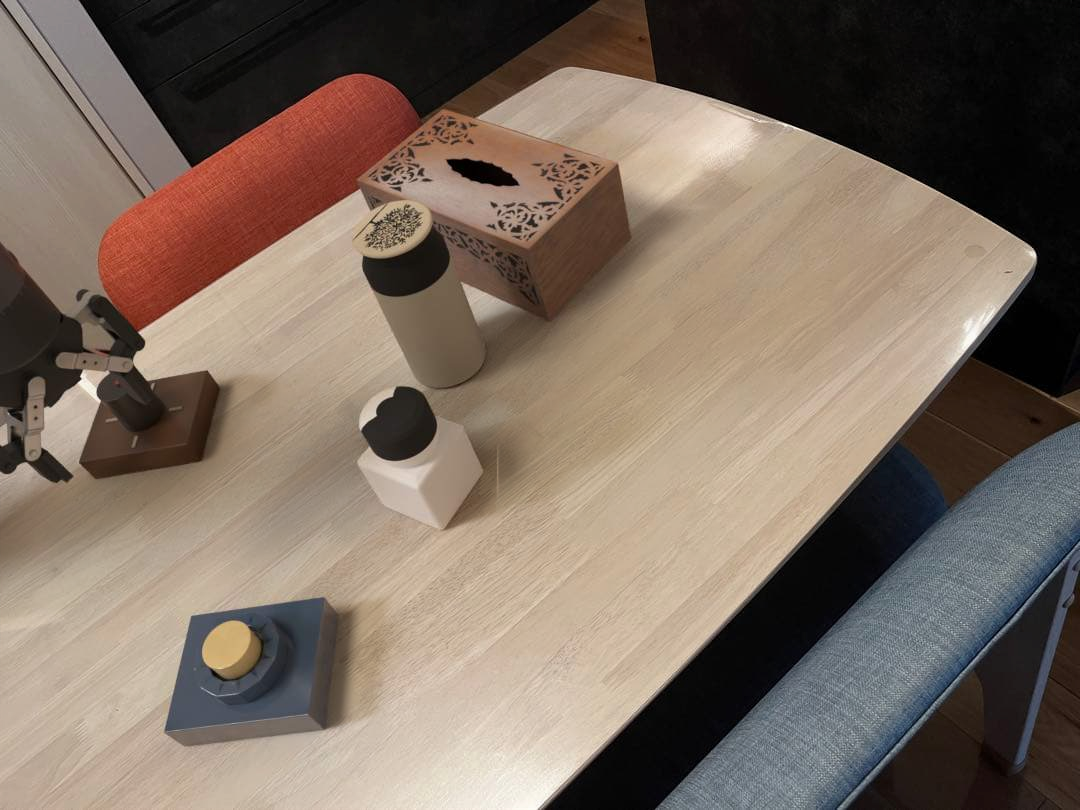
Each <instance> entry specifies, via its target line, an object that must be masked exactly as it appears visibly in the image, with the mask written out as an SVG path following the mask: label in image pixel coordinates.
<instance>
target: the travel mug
mask: <svg viewBox="0 0 1080 810" xmlns="http://www.w3.org/2000/svg"><path fill="white" fill-rule="evenodd" d="M432 224H433V217H432V214H431V211H430V210H429V209H428V208H427V207H426V206H425V205H423V204H422V203H419V202H416V201H410V200H401V201H394V202H390V203H387V204H384V205H381V206H379V207H377V208H375V209H373V210H372V211H370V210H369V212H368V213H366V214H365V215H364V216H363V217H362V218H361V219H360V220H359V221H358V222H357V224H356V225H355V227H354V228H353V230H352V235H351V242H352V245H353V248H354V249H355V251H356V252H357V253H359V254H360V255H362V261H361V269H362V273H363V274H364V276H365V278H366V281H367V282H368V284H369V287H370V289H371V290H372V293H373V295H374V297H375V299H376V301H377V303H378V305H379V307H380V309H381V311H382V314H383V315H384V317H385V320H386V322H387V324H388V326H389V327H390V329H391V331H392V333H393V336H394V337H395V340H396V342H397V344H398V346H399V348H400V350H401V352H402V354H403V356H404V358H405V360H406V363H407V365H408V367H409V368H410V370H411V372H412V374H413V377H414V378H415V380H416V381H418V382H419V383H420V384H422V385H424V386H425V387H430V388H435V389H444V388H450V387H454V386H456V385H459V384H463V382H466V381H467V380H469V379H470V378H471V377H473V376H474V375H475V374H476V373H477V372H478V371H479V370H480V368H481V367H482V365H483V363H484V362H485V359H486V355H487V353H486V352H487V348H486V344H485V341H484V339H483V336H482V333H481V331H480V329H479V326H478V323H477V320H476V317H475V315H474V313H473V310H472V307H471V305H470V302H469V300H468V297H467V295H466V292H465V290H464V287H463V284H462V282H461V281H460V279H459V276H458V274H457V271H456V268H455V266H454V263H453V261H452V258H451V255H450V253H449V250H448V248H447V245H446V242H445V240H444V238H443V236H442V234H441V233H440V232H439V231H437V230H436V229H434V228H433V227H432Z"/></svg>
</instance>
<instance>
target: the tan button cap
mask: <svg viewBox="0 0 1080 810" xmlns="http://www.w3.org/2000/svg"><path fill="white" fill-rule="evenodd" d="M261 652H262V644H261V640H260V639H259V637H258V636H257V635H256V634H255V633H254V632H253V631H252V630H251V629H250V628H249V627H248V626H247V625H246V624H244V623H243V622H240V621H228V622H225V623H222V624H220V625H219V626H217V627H216V628H215V629H214V630H212V631H211V633H210V634H209V635H208V636H207V638H206V640H205V642H204V644H203V648H202V657H203V660H204V662H205V663H206V664H207V665H208V666H209V667H210V668H211V669H212V670H213V671H215V672H216V673H217V674H218V675H219V676H221V677H223V678H225V679H236V678H240V677H242V676H244V675H246V674H247V673H248V672H250V671H251V670H252V669H253V668H254V667H255V665H256V664H257V662H258V661H259V659H260V656H261Z"/></svg>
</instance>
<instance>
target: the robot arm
mask: <svg viewBox="0 0 1080 810" xmlns="http://www.w3.org/2000/svg"><path fill="white" fill-rule="evenodd" d="M75 300H76V302H77V303H75V304H74V305H73V306H72V308H71V309H69V310H68V312H67V313H66V314H65V313H62V311H61V310H60V309H59V308H58V307H57V305H56V304H55V303H54V302H53V301H52V300H51V299H50V297H49V296H48V295H47V294H46V293H45V292H44V290H42V288H41V287H40V285H38V283H37V282H36V281H35V280H34V279H33V277H32V276H30V274H29V273H28V272H27V271H26V269H25V268H24V267H23V266H22V265H21V264H20V262H19V260H18V258H17V257H16V255H15V254H14V253H13V252H12V251H11V250H9V249H8V248H7V247H6V245H4V243H2V242H1V241H0V408H2V416H3V420H4V422H5V424H6V432H7V433H6V434H7V443H6V444H4V445H1V444H0V473H1V474H3V475H11V474H13V473H14V472H15V471H16V470H17V467H18V466H19V465H22V464H27V465H28V466H30V467H31V468H32V469H33V470H34V471H35V472H36V473H38V474H39V476H41V477H42V478H44V479H46V480H47V481H49V482H51V483H54V484H58V483H60V481H63V482H64V483H66V484H68V483H69V482H70V481H71V480H72V479H73V478H74V477H75V475H73V473H71V472H70V471H69V470H68V468H66V467H65V466H64V465H63V464H62V463H61V462H60V461H59V460H58V459H57V458H56V457H55V456H53V455H52V454H51V452H49V451H48V450H47V449H45V448H44V447H42V432H43V431H44V430H45V409H46V408H49V409H51V408H53V407H54V406H55V405H57V403H58V402H59V401H60V400H61V398H62V397H63V395H64V394H65V392H67V391H69V390H71V389H72V388H74V387H76V385H78V383H80V382H81V381H82V380H83V378H82V377H81V376H82V374H83V371H84V370H85V371H93V372H103V373H105V372H109V373H111V375H112V376H113V377H114V378H115V379H116V380H117V382H118V383H119V384H120V385H121V386H122V387H123V388H124V390H125V391H126V392H127V393H128V394H129V395H130V396H131V397H132V398H133V399H134V400H136V401H138V402H140V403H142V404H144V405H147V404H148V403H149V402H150V401H151V400H152V398H151V396H150V395H149V394H148V393H149V392H150V391H151V386H150V384H149V383H148V381H149V380H147V379H146V378H145V377H144V375H143V374H142V373H141V371H140V370H139V369H138V368H137V366H135V364H134V358H135V356H136V354H137V353H138V352H141V351H143V350H144V348H145V347H146V339H145V338H144V337H143V336H142V335H141V334H140V333H139V331H137V329H136V328H135V327H134V326H133V325H132V324H131V322H129V321H128V320H127V318H126V317H125V316H124V315H123V314H122V313H121V312H120V311H119V310H118V308H117V307H116V306H115V305H114V304H113V303H112V302H111V301H110V300H109V299H108V297H105V296H104V295H101V294H99V293H96V292H94V291H91V290H90V289H87V288H81V289H79V290H78V291H77V293H76V296H75ZM85 323H88V324H90V325H92V326H94V327H95V326H100V327H101V328H102V329H103V330H104V331H105V333H107V335H109V336H110V338H111V339H112V340H113V341H114V342H113V343H112V345H111V347H110V348H109V349H108V348H101V347H95V346H94V347H93V346H89V345H86V344H84V336H83V334H84V333H83V327H82V324H85Z"/></svg>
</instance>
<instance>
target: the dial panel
mask: <svg viewBox="0 0 1080 810" xmlns="http://www.w3.org/2000/svg"><path fill="white" fill-rule="evenodd" d="M147 381H148V383H149V384H150V386H151V389H152V390H153V391H154V393H155V394H156V395H157V396H158V397H159V399H160V400H161V401H162V402H163V405H164V410H163V413H162V415H161V417H160V418H159V419H158V420H157V422H155V423H154V424H153V425H152V426H150V427H148V428H146V429H144V430H141V431H130V430H128V429H126V428H125V427H124V426H123V424H122V423H121V422H120V421H119V420H118V419H117V418H116V417H115V416H114V415H113V413H112V412H111V411H110V410H109V409H108V408H107V407H106V406H105V405H104V404H103V403H102V401H101V400H100V401H99V403H98V404H99V405H98V408H97V410H96V413H95V415H94V419H93V421H92V424H91V427H90V429H89V431H88V435H87V437H86V441H85V443H84V445H83V448H82V451H81V454H80V456H79V459H78V464H79V465H80V466H81V467H82V468H83V469H84V470H85V471H86V472H87V473H89V474H90V475H91V477H92V478H93V479H95V480H97V479H104V478H110V477H116V476H121V475H122V476H123V475H127V474H132V473H138V472H147V471H151V470H156V469H157V470H158V469H163V468H169V467H176V466H181V465H187V464H194V463H199V462H200V463H201V462H202V461H203V458H204V454H205V451H206V446H207V442H208V439H209V435H210V430H211V427H212V423H213V419H214V415H215V410H216V407H217V403H218V399H219V395H220V391H221V386H220V385H219V384H218V383H217V381H216V380H215V378H214V377H213V376H212V374H211V373H210V372H209V370H208V369H205V370H200V371H195V372H188V373H183V374H177V375H173V376H167V377H162V378H156V379H150V380H147Z"/></svg>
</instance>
